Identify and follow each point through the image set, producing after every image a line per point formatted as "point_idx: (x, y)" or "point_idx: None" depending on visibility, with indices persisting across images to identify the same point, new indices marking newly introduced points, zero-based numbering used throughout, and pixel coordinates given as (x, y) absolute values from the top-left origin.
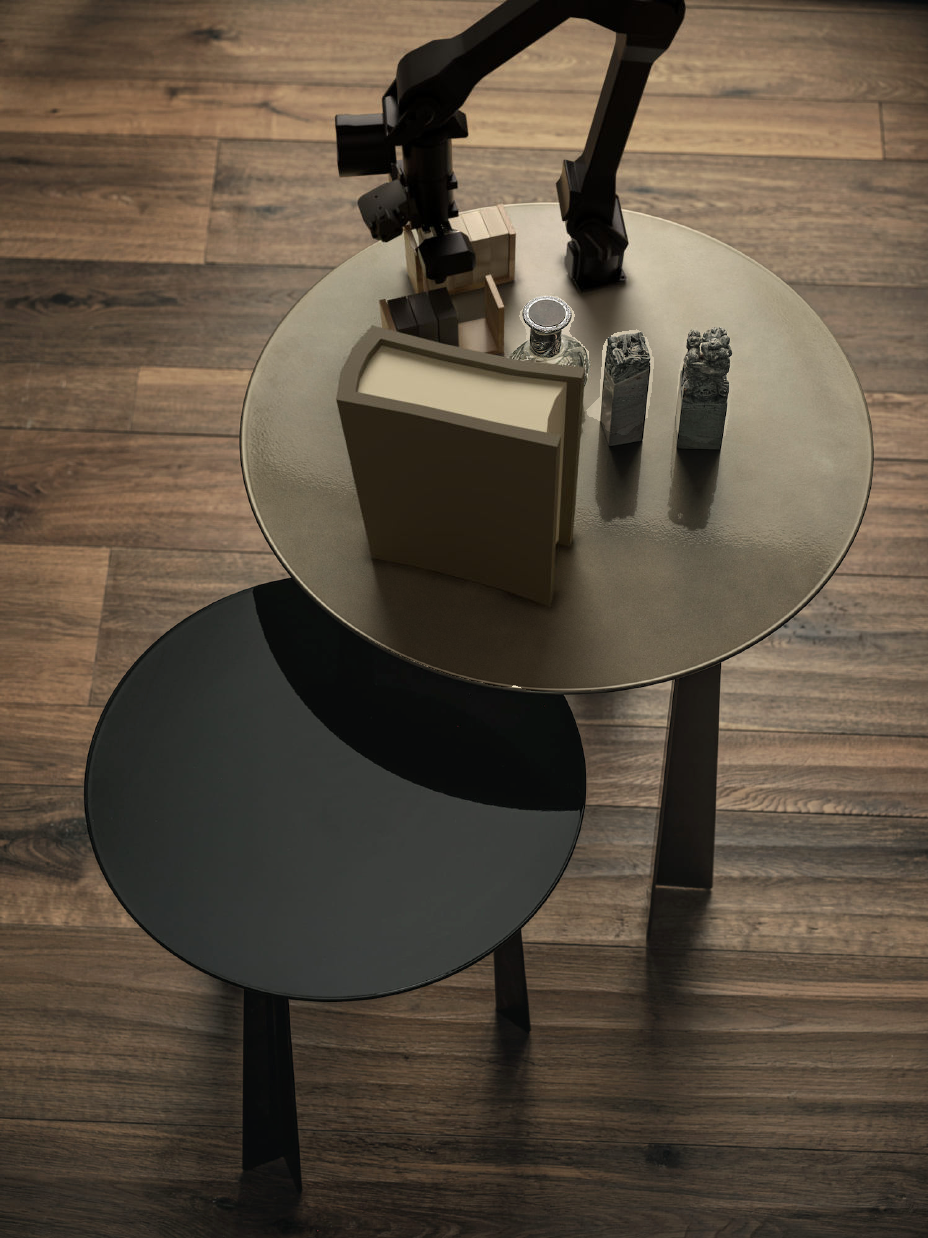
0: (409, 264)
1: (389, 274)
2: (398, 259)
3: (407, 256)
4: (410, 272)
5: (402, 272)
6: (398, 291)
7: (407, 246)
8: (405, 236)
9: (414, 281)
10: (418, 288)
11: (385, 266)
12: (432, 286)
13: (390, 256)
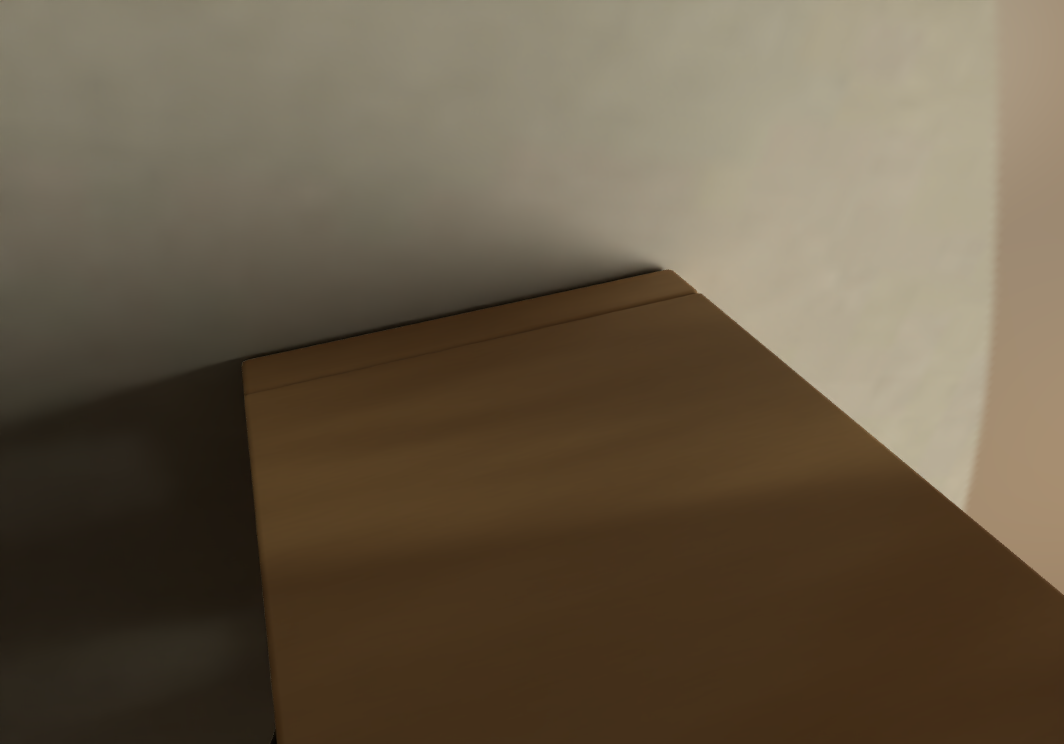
0: (643, 427)
1: (706, 84)
2: (847, 195)
3: (751, 437)
4: (577, 374)
5: (689, 220)
6: (446, 156)
7: (844, 614)
8: (1032, 687)
9: (395, 441)
10: (253, 495)
11: (819, 54)
12: None
13: (909, 123)
